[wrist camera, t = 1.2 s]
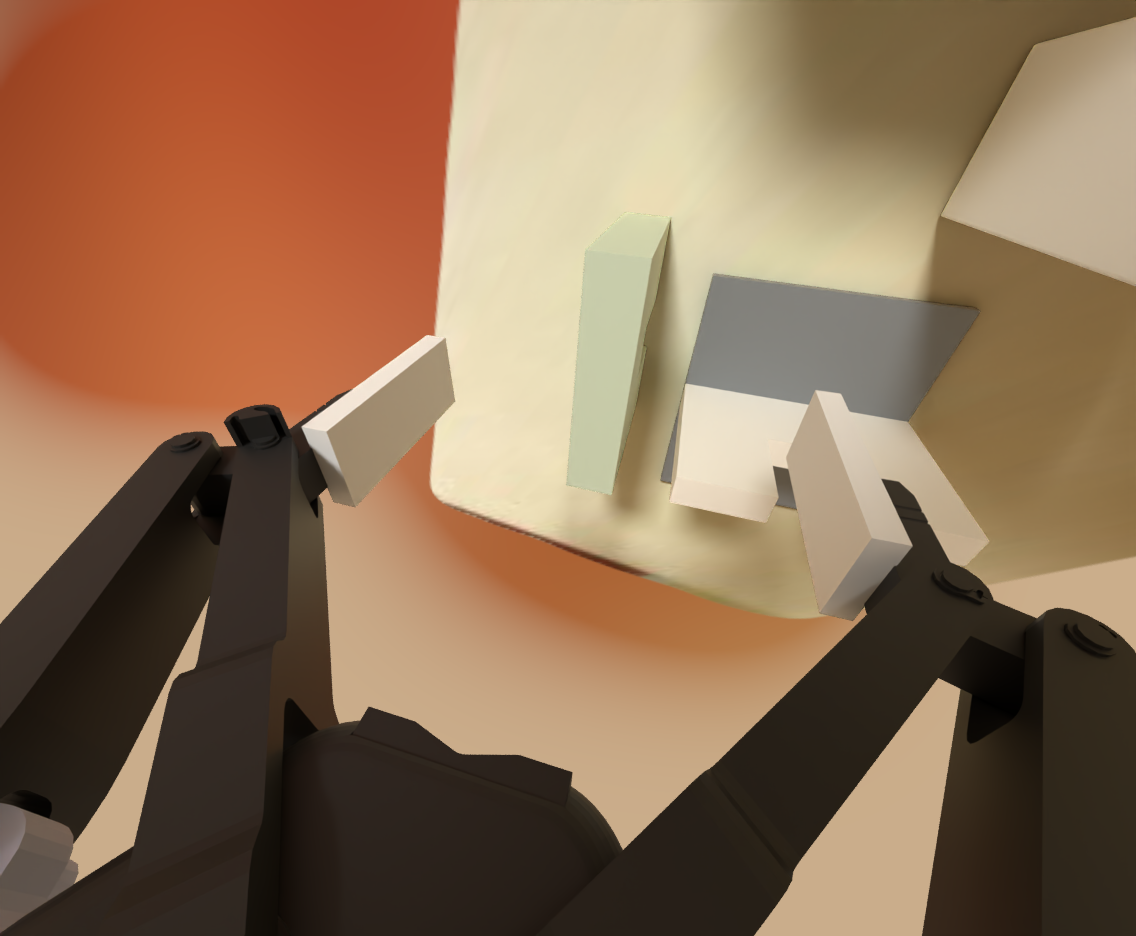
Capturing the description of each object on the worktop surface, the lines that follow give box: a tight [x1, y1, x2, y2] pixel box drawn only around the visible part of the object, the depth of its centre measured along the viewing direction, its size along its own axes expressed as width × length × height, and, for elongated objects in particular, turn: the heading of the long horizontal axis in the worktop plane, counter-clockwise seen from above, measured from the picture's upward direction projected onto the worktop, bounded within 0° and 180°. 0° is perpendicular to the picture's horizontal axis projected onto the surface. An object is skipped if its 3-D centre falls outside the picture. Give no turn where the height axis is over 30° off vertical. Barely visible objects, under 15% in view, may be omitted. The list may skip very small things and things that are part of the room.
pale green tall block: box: [566, 212, 671, 495], centre depth 28 cm, size 14×3×12 cm, turn 176°
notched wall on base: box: [661, 274, 990, 566], centre depth 29 cm, size 16×18×13 cm
